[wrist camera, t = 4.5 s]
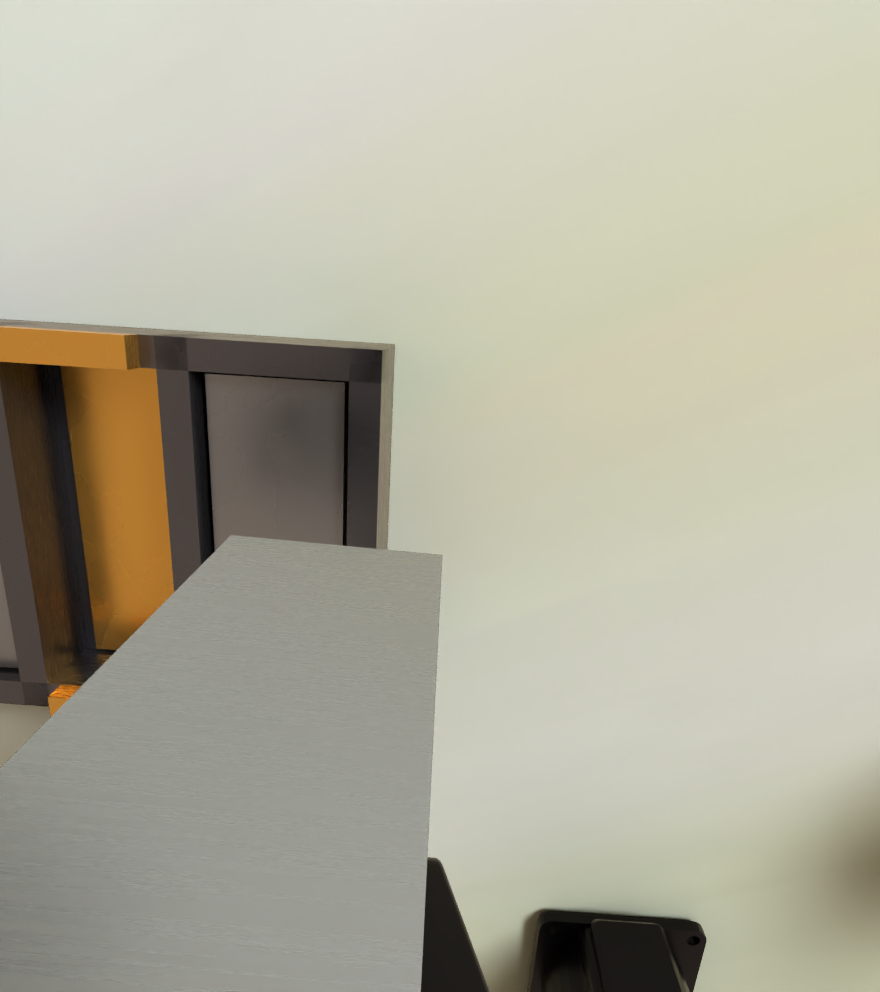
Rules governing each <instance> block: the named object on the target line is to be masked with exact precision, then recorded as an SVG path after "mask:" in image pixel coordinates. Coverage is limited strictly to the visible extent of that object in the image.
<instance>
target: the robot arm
mask: <svg viewBox="0 0 880 992" xmlns="http://www.w3.org/2000/svg"><path fill="white" fill-rule="evenodd" d="M705 945H706V936H705V934H704V931H703V929H702V927H701V925H700V924H698V923H697V922H693V921H682V920H668V919H654V918H640V917H626V916H612V915H599V914H585V913H571V912H557V911H547V912H545V913H542V914H541V915H540V916H539V919H538V923H537V930H536V937H535V944H534V950H533V957H532V964H531V971H530V977H529V984H528V991H527V992H693V990H694V986H695V982H696V978H697V975H698V971H699V967H700V963H701V960H702V956H703V952H704V948H705ZM421 992H489V989H488V986H487V984H486V981H485V978H484V975H483V973H482V970H481V967H480V965H479V962H478V959H477V957H476V954H475V951H474V949H473V946H472V943H471V940H470V938H469V935H468V932H467V930H466V927H465V924H464V922H463V919H462V916H461V914H460V911H459V908H458V905H457V903H456V900H455V897H454V895H453V892H452V889H451V887H450V884H449V881H448V879H447V876H446V873H445V870H444V868H443V865H442V863H441V862H440V860H438V859H437V858H431V857H427V876H426V896H425V916H424V937H423V957H422V977H421Z"/></svg>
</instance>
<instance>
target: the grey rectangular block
mask: <svg viewBox="0 0 880 992" xmlns="http://www.w3.org/2000/svg"><path fill="white" fill-rule="evenodd" d="M441 571H442V555H437V554H426V553H416V552H405V551H395V550H384V549H373V548H363V547H352V546H342V545H331V544H321V543H310V542H300V541H289V540H278V539H268V538H257V537H247V536H236V535H230V536H229V538H228V539H227V540H226V541H225V542H224V543H223V544H222V545H221V546H220V547H219V548H218V549H217V550H216V551H215V552H214V553H213V554H212V555H211V556H210V557H209V558H208V559H207V560H206V561H205V562H204V563H203V564H202V565H201V566H200V567H199V568H198V569H197V570H196V571H195V572H194V573H193V574H192V575H191V576H190V577H189V578H188V579H187V580H186V581H185V582H184V583H183V584H182V585H181V586H180V587H179V588H178V589H177V590H176V591H175V592H174V593H173V594H172V595H171V596H170V597H169V598H168V599H167V600H166V601H165V602H164V603H163V604H162V605H161V606H160V607H159V608H158V609H157V610H156V611H155V612H154V613H153V614H152V615H151V616H150V617H149V618H148V619H147V620H146V621H145V622H144V623H143V624H142V625H141V626H140V627H139V628H138V630H137V631H136V632H135V633H134V634H133V635H132V636H131V637H130V638H129V639H128V640H127V641H126V642H125V643H124V644H123V645H122V646H121V647H120V648H119V649H118V650H117V651H116V652H115V653H114V654H113V655H112V656H111V657H110V658H109V659H108V660H107V661H106V662H105V663H104V664H103V665H102V666H101V667H100V668H99V669H98V670H97V671H96V672H95V673H94V674H93V675H92V676H91V677H90V678H89V679H88V680H87V681H86V682H85V683H84V684H83V685H82V686H81V687H80V688H79V689H78V690H77V691H76V692H75V693H74V694H73V695H72V696H71V697H70V698H69V699H68V700H67V701H66V702H65V703H64V704H63V705H62V706H61V707H60V708H59V709H58V710H57V711H56V712H55V713H54V714H53V715H52V716H51V717H50V718H49V719H48V720H47V721H46V723H45V724H44V725H43V726H42V727H41V728H40V729H39V730H38V731H37V732H36V733H35V734H34V735H33V736H32V737H31V738H30V739H29V740H28V741H27V742H26V743H25V744H24V745H23V746H22V747H21V748H20V749H19V750H18V751H17V752H16V753H15V754H14V755H13V756H12V757H11V758H10V759H9V760H8V761H7V762H6V763H5V764H4V765H3V766H2V767H1V768H0V992H421V977H422V957H423V937H424V916H425V896H426V876H427V855H428V835H429V815H430V794H431V774H432V754H433V733H434V713H435V693H436V673H437V652H438V632H439V612H440V591H441Z"/></svg>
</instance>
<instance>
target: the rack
mask: <svg viewBox="0 0 880 992" xmlns="http://www.w3.org/2000/svg"><path fill="white" fill-rule="evenodd" d="M394 354H395V344H381V343H365V342H350V341H334V340H318V339H303V338H287V337H272V336H256V335H240V334H225V333H209V332H194V331H178V330H162V329H147V328H131V327H116V326H100V325H84V324H69V323H53V322H38V321H22V320H6V319H0V703H7V704H21V705H36V706H49V709H50V715H51V716H52V715H53V714H54V713H55V712H56V711H57V710H58V709H59V708H60V707H61V706H62V705H63V704H64V703H65V702H66V701H67V700H68V699H69V698H70V697H71V696H72V695H73V694H74V693H75V692H76V691H77V690H78V689H79V688H80V687H81V686H82V685H83V684H84V683H85V682H86V681H87V680H88V679H89V678H90V677H91V676H92V675H93V674H94V673H95V672H96V671H97V670H98V669H99V668H100V667H101V666H102V665H103V664H104V663H105V662H106V661H107V660H108V659H109V658H110V657H111V656H112V655H113V654H114V653H115V652H116V651H117V650H118V649H119V648H120V647H121V646H122V645H123V644H124V643H125V642H126V641H127V640H128V639H129V638H130V637H131V636H132V635H133V634H134V633H135V632H136V631H137V630H138V628H139V627H140V626H141V625H142V624H143V623H144V622H145V621H146V620H147V619H148V618H149V617H150V616H151V615H152V614H153V613H154V612H155V611H156V610H157V609H158V608H159V607H160V606H161V605H162V604H163V603H164V602H165V601H166V600H167V599H168V598H169V597H170V596H171V595H172V594H173V593H174V592H175V591H176V590H177V589H178V588H179V587H180V586H181V585H182V584H183V583H184V582H185V581H186V580H187V579H188V578H189V577H190V576H191V575H192V574H193V573H194V572H195V571H196V570H197V569H198V568H199V567H200V566H201V565H202V564H203V563H204V562H205V561H206V560H207V559H208V558H209V557H210V556H211V555H212V554H213V553H214V552H215V551H216V550H217V549H218V548H219V547H220V546H221V545H222V544H223V543H224V542H225V541H226V540H227V539H228V538H229V536H230V535H236V536H247V537H257V538H268V539H278V540H289V541H300V542H310V543H321V544H331V545H342V546H352V547H363V548H373V549H384V550H387V543H388V516H389V489H390V462H391V435H392V408H393V381H394Z"/></svg>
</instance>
